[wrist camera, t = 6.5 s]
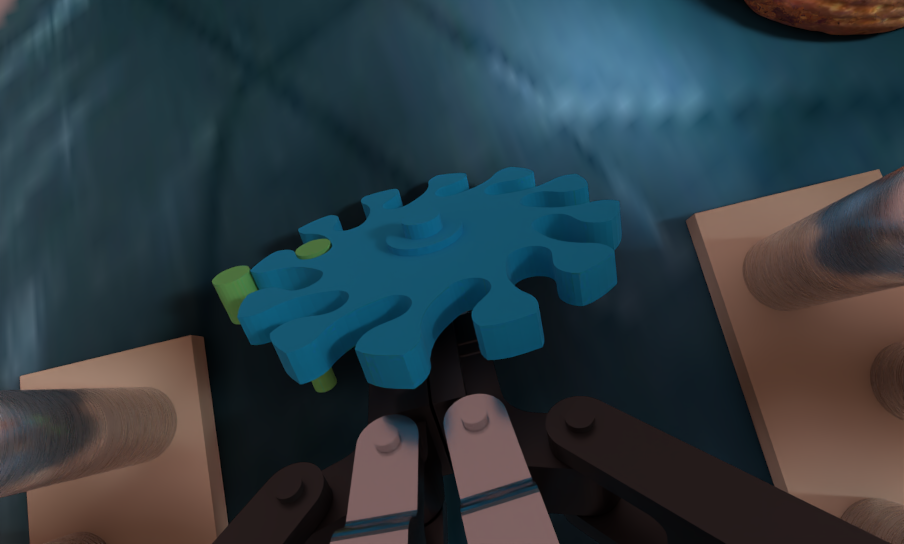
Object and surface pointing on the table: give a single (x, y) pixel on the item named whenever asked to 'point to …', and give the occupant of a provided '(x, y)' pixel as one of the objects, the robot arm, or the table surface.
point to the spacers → (764, 271)
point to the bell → (834, 15)
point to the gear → (426, 275)
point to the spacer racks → (746, 333)
